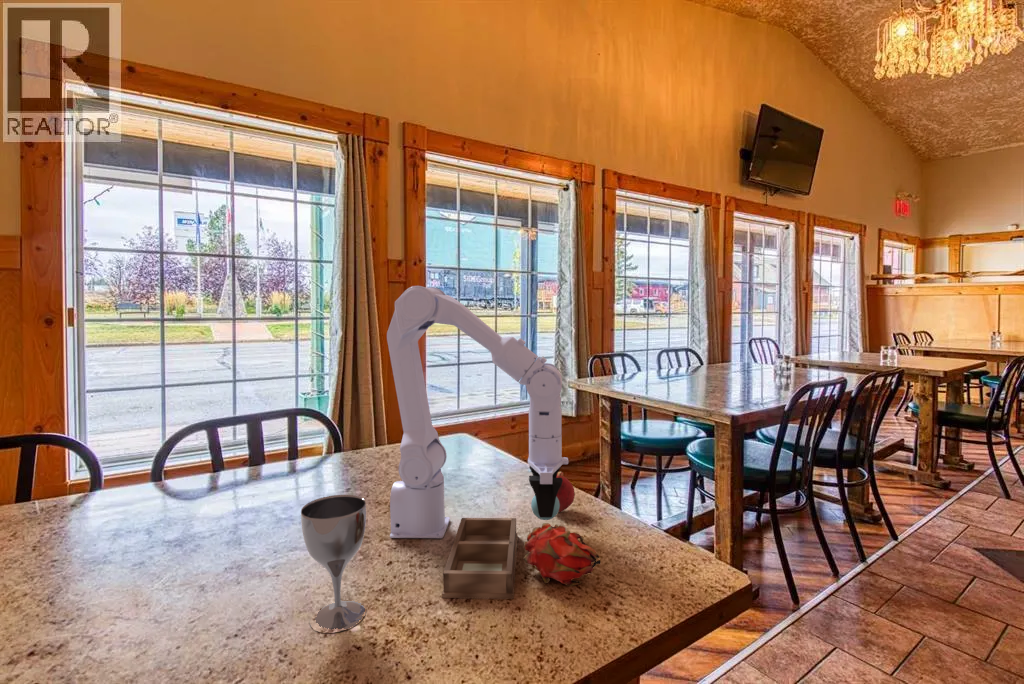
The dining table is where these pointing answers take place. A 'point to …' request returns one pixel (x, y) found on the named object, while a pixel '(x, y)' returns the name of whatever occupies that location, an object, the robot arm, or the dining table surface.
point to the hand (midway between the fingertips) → (545, 509)
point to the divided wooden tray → (482, 559)
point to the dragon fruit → (559, 554)
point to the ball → (536, 513)
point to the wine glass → (335, 549)
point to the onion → (565, 493)
